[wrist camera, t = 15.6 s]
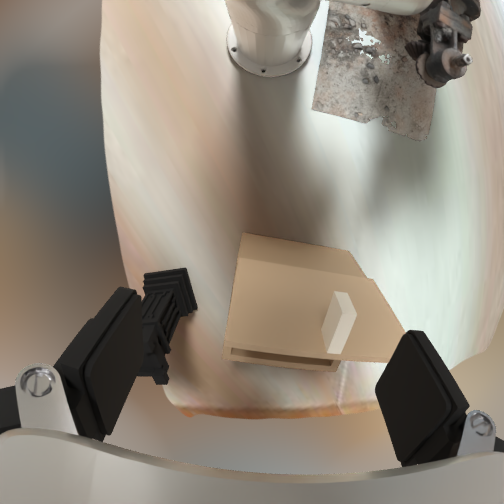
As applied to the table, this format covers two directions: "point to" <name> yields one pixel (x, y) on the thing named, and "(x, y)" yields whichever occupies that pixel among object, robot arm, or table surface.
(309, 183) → the table surface
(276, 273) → the lid flap
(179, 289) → the chess piece
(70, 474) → the robot arm
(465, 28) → the valve
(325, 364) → the carton
